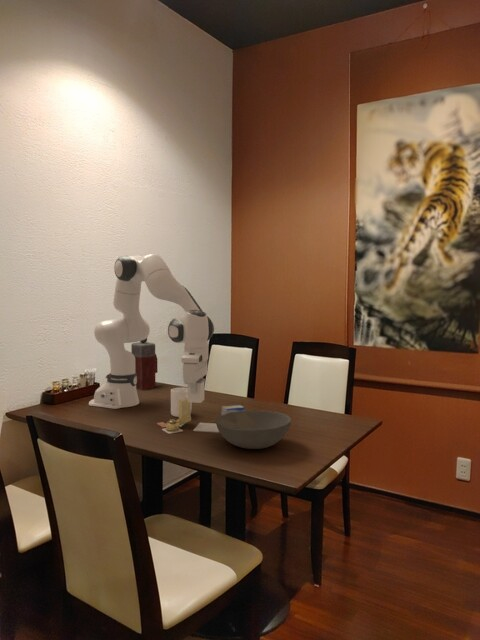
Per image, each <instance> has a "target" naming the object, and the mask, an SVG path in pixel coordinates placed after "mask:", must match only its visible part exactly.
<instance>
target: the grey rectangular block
mask: <svg viewBox="0 0 480 640" xmlns="http://www.w3.org/2000/svg"><path fill="white" fill-rule="evenodd" d="M205 381H206V378H204V377H203V378H201V379H200V380H198V381H197V382H196V388H197V390H196V391H197V392H196V393H195V394H192V393H191V388H190V384H187V388H188V402H192V403H193V404H195V403H197V404H201V403H202V402H204V401H205Z"/></svg>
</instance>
